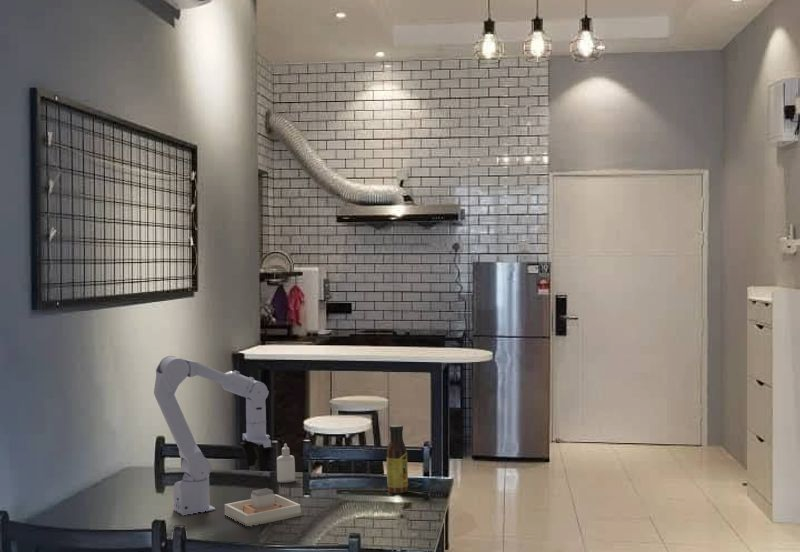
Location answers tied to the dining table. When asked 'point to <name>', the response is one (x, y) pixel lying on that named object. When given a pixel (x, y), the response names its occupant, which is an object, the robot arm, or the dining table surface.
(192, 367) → the robot arm
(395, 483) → the sauce bottle
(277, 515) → the walled box
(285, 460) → the eye dropper bottle
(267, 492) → the grey plug
